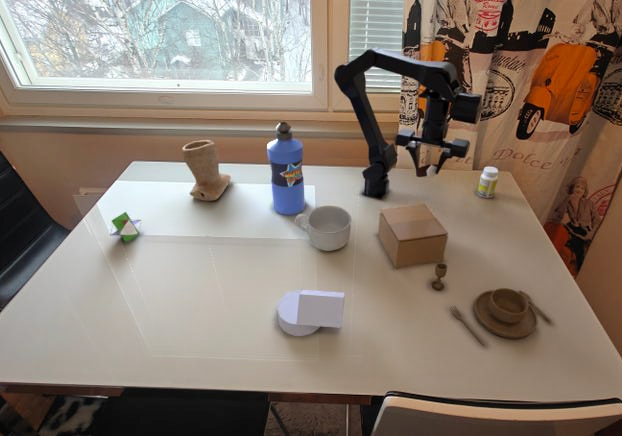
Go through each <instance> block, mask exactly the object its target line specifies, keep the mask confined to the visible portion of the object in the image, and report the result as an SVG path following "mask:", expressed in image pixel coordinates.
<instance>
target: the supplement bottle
mask: <svg viewBox="0 0 622 436" xmlns="http://www.w3.org/2000/svg"><path fill="white" fill-rule="evenodd" d="M498 174H499V169H498V168H497V167H495V166H485V167H484V168H483V171H482V173H481V175H480V178H479V182H478V187H477V192H476V193H477V195H478V196H480V197H481V198H485V199H486V198H487V199H488V198H489V199H490V198H492V197H494V194H495V190H496V188H497V183H498V180H499V176H498Z"/></svg>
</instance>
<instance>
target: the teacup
mask: <svg viewBox="0 0 622 436" xmlns="http://www.w3.org/2000/svg"><path fill="white" fill-rule="evenodd" d="M301 220H304V221H305V222H306V225H307V226H306V225H304V224H303V223H302V222H301ZM294 221H295V225H296V226H297V228H299V229H300V230H301V231H302V232H304V233H305V234H306V235H308V239H309V241H310V243H311V244H312V245H313V246H314V247H315V248H317V249H319V250H321V251H327V252H333V251H337V250H339V249H341V248H343V247H344V246H345V245H346V244H347V243H348V241H349V239H350V236H351V224H352V216H351V214H350V212H348V211H347V210H346V209H345V208H343V207H340V206H335V205H323V206H319V207H316V208H314V209H312V210H311V211H310V212H309V213H308V215H307V214H306V213H298V214H297V215H296V217H295V220H294Z"/></svg>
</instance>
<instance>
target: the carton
mask: <svg viewBox="0 0 622 436" xmlns="http://www.w3.org/2000/svg"><path fill="white" fill-rule="evenodd" d="M448 235H449V232H448V231H447V230H446V229H445V227H444V226H443V225H442V223H441V222H440V220H438V218H437V217H435V218H431V219H423V220H416V221H409V222H401V223H394V224H389V225H388V223H387V221H386V220H385V218H384V216H383V214H382V213H381V211H379V219H378V231H377V237H378V239H379V240H380V242H381V244H382V246H383V248H384V250H385V252H386V253H387V256H388V257H389V259H390V261H391V263H392V265H393V266H394V268H395V269H400V268H407V267H414V266H420V265H426V264H432V263H440V262H443V260H444V255H445V252H446V246H447V243H448V237H449V236H448Z"/></svg>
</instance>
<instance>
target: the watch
mask: <svg viewBox="0 0 622 436" xmlns="http://www.w3.org/2000/svg"><path fill="white" fill-rule="evenodd" d="M437 166H438V163H437V164H436V163H434V164H427V165H423V166H419V168H418V169H416V168H415V176H416V178H424V177H428V178H434V177H436V175H437V174H436V169H437Z"/></svg>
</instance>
